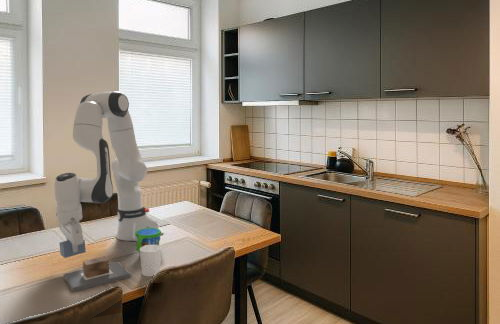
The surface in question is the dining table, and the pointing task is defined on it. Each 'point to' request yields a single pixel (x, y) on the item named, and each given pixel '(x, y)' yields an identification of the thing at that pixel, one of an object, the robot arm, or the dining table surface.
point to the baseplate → (95, 277)
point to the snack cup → (147, 237)
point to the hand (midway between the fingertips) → (72, 249)
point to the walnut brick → (96, 267)
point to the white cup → (150, 259)
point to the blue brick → (67, 249)
